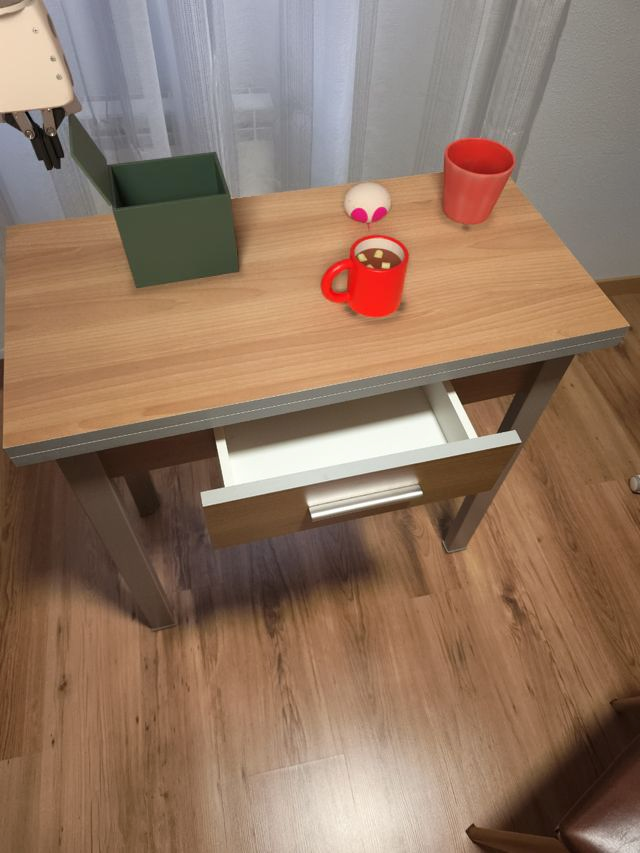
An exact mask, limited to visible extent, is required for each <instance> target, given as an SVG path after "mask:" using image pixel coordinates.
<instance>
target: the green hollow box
mask: <svg viewBox="0 0 640 853" xmlns="http://www.w3.org/2000/svg"><path fill="white" fill-rule="evenodd" d="M107 168H108V176H109V184H110V193H111V201H112V205H111V209H112V214H113V217H114V221H115V224H116V227H117V230H118V233H119V237H120V240H121V243H122V247H123V251H124V253H125V256H126V260H127V263H128V266H129V270H130V272H131V276H132V280H133V283H134V286H135V289H141V288H146V287H151V286H152V287H153V286H160V285H165V284H171V283H178V282H184V281H185V282H186V281H190V280H196V279H202V278H208V277H216V276H222V275H226V274H227V275H228V274H233V273H239V272H240V267H239V258H238V249H237V240H236V231H235V224H234V223H235V222H234V214H233V206H232V205H233V204H232V196H231V192H230V188H229V186H228V183H227V181H226V178H225V174H224V171H223V168H222V166H221V162H220V160H219V156H218V154H217V151H210V152H203V153H193V154H192V153H191V154H186V155H177V156H176V155H175V156H168V157H161V158H159V157H158V158H153V159H144V160H136V161H135V160H134V161H127V162H120V163H119V162H118V163H112V164H111V163H110V164H107Z"/></svg>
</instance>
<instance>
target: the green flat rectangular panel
mask: <svg viewBox="0 0 640 853" xmlns="http://www.w3.org/2000/svg"><path fill="white" fill-rule="evenodd" d="M75 114H76V113H75ZM75 114H72V115H70V116H67V120H68V121H67V122H68V137H69V138H68V140H69V155H70V157H71V158H72V159H73V161H74V162H75V164H76V165H77V166H78V168H79V169H80V170H81V171H82V173H83V174H84V176H86V178H87V179H88V181H89V182H90V183H91V184H92V186H93V187H94V189H95V190H96V191H97V192H98V194H99V195H100V196H101V197H102V199H103V200H104V202H105V203H106V204H107V206H109V207H112V201H111V193H110V184H109V176H108V168H107V165H108V160H107V158H106V157H105V155H104V154H103V152H102V151H101V149H100V148H99V147H98V146H97V144H96V142H95V141H94V139H93V138H92V137H91V135H90V134H89V133H88V131H87V130H86V128H85V127H84V125H83V124H82V122H80V120H79V118H78V117H77V116H76V115H75Z"/></svg>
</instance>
